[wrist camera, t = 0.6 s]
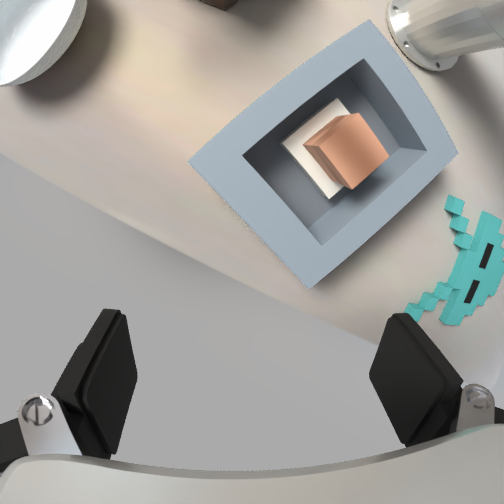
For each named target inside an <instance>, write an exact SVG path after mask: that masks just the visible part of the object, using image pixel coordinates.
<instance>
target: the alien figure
mask: <svg viewBox="0 0 504 504" xmlns="http://www.w3.org/2000/svg"><path fill="white" fill-rule="evenodd" d="M464 203H465V202H464V201H462V200H460V199H458V198H456V197H453V196H450V195H448V198H447V202H446V205H445V208H444V209H445V210H448V211H450V212H453V217H452V220H451V223H450V226H449V227H451V228H453V229H455V230H457V231H458V232H457V235H456V238H455V240H454V244H456V245H458V246H459V247H461V250H460V252H459V255H458V258H457V260H456V263H455V265H454V268H453V270H452V273H451V275H450V278H449V280H448V282H447V283H443V282H438V284H437V286H436V289H435V291H434V293H433V294H431V293H425V292H424V293H423V296H422V298H421V300H420V302H419V304H412V303H408V306H407V308H406V310H405V312H404V313H408V314H410V315H411V317H412V318H413V319H414V320H415V321H416V322H418V321H419V319H420V317H421V315H422V313H423V311H424V310H429V311H434V308H435V306H436V304H437V302H438V300H439V299H442V300H448V298H449V300H448V302H447V304H446V306H445V308H444V310H443V312H442V314H441V316H440V318H439V319H440V320H441V321H442V322H443V323H444V324H447V325H460V324H461V322H462V320H463V318H464V316H465V315H471V316H472V314H473V312H474V310H475V308H476V306H477V305H481V306H483V305H484V303H485V301H486V299H487V296H488V295H490V296H494V295H495V292H496V290H497V288H498V286H499V283H500V281H501V278H502V276H503V273H504V261H502V260H503V257H504V249H503V248H501V244H502V242H503V239H504V235H502V234H500V233H499V229H500V226H501V223H502V220H500V219H498V218H496V217H495V216H493V215H491V214H489V213H486V212H484V211H482V213H481V216H480V219H479V222H478V226H477V229H476V232H475V235H474V238H473V236H471V235H469V234H467V233H465V231H466V228H467V225H468V222H469V219H467V218H465V217H462V216H461V213H462V210H463V206H464ZM472 238H473V240H472ZM471 241H472V243H471ZM470 244H471V246H470ZM469 247H470V249H469ZM453 288H454V289H453ZM452 289H453V291H452ZM451 292H452V293H451ZM450 294H451V295H450ZM449 296H450V297H449Z"/></svg>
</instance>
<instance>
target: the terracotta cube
mask: <svg viewBox="0 0 504 504" xmlns="http://www.w3.org/2000/svg"><path fill="white" fill-rule="evenodd" d="M302 145H303V146H304V147H305V148H306V150H307V151H308V152H309V153H310V154H311V156H312V157H313V158H314V159H315V161H316V162H317V163H318V164H319V165H320V167H321V168H322V169H323V170H324V172H325V173H326V174H327V176H328V177H329V178H330V179H331V180H332V181H334V182H336V183H339V184H341V185H343V186H345V187H348V188H350V189H353V188H354V187H356V186H357V185H358V184H359V183H360V182H361V181H362V180H364V179H365V178H366V177H367V176H368V175H369V174H370V173H371V172H373V171H374V170H375V169H376V168H377V167H378V166H379V165H381V164H382V163H383V162H384V161H385V160H386V159H387V158H388V157H390V156H389V155H388V153H387V152H386V150H385V149H384V147H383V146H382V144H381V143H380V141H379V140H378V138H377V137H376V136H375V134H374V133H373V131H372V130H371V129H370V127H369V126H368V124H367V123H366V122H365V120H364V119H363V118H362V116H361V115H360V114H359V113H354V114H348V115H342V116H336V117H335V118H334V119H333V120H331V121H330V122H329V123H328V124H326V125H325V126H324V127H323V128H322V129H320V130H319V131H318V132H317V133H316V134H314V135H313V136H312V137H311V138H310V139H308V140H307V141H306V142H305V143H304V144H302Z"/></svg>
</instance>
